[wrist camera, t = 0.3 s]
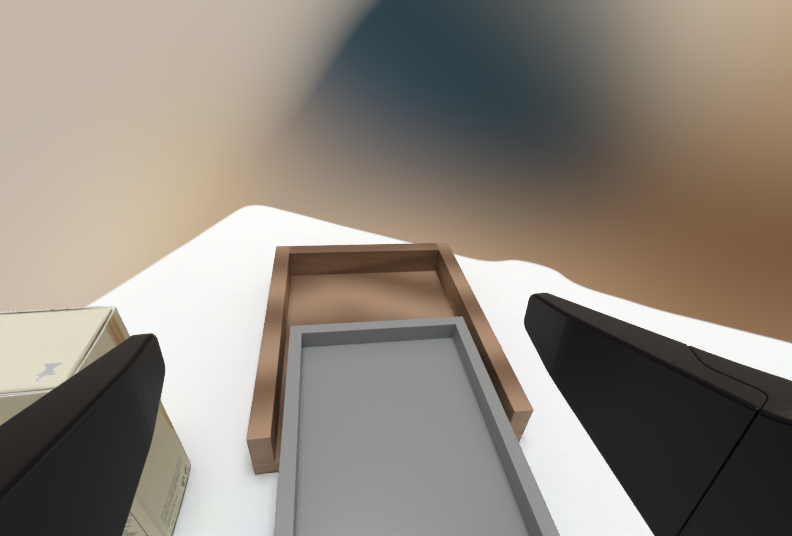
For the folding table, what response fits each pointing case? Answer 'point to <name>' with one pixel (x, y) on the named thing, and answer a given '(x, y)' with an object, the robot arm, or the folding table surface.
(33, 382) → the skincare box
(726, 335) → the folding table surface
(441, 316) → the caddy
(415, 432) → the tray
